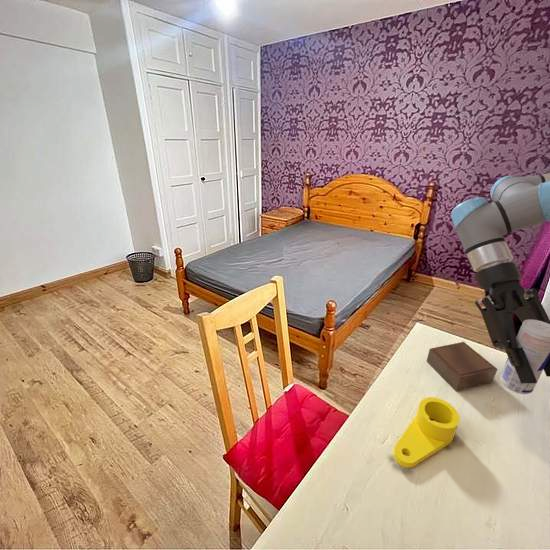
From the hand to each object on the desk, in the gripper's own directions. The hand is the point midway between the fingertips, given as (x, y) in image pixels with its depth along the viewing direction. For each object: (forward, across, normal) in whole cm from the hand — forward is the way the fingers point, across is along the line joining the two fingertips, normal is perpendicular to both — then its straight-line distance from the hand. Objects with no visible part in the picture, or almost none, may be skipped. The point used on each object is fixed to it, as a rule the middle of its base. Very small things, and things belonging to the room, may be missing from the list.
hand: (542, 379), depth 59 cm
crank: (+10, +17, -20) cm, 28 cm away
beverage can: (+1, 0, -6) cm, 7 cm away
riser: (-1, -7, -31) cm, 32 cm away
